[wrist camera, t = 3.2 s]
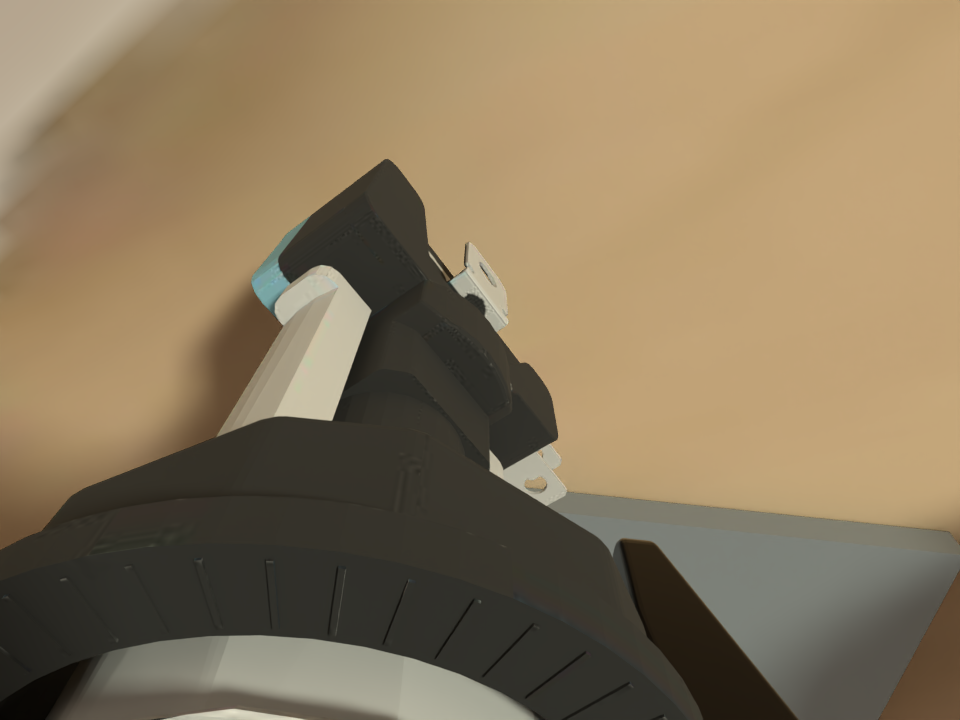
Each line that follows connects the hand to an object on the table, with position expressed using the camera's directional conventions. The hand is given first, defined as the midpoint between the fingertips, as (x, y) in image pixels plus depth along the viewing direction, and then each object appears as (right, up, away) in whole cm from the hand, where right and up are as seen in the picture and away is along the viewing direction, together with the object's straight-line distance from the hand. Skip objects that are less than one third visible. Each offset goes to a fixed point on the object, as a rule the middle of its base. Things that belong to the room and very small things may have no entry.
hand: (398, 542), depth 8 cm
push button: (0, +3, +5) cm, 5 cm away
